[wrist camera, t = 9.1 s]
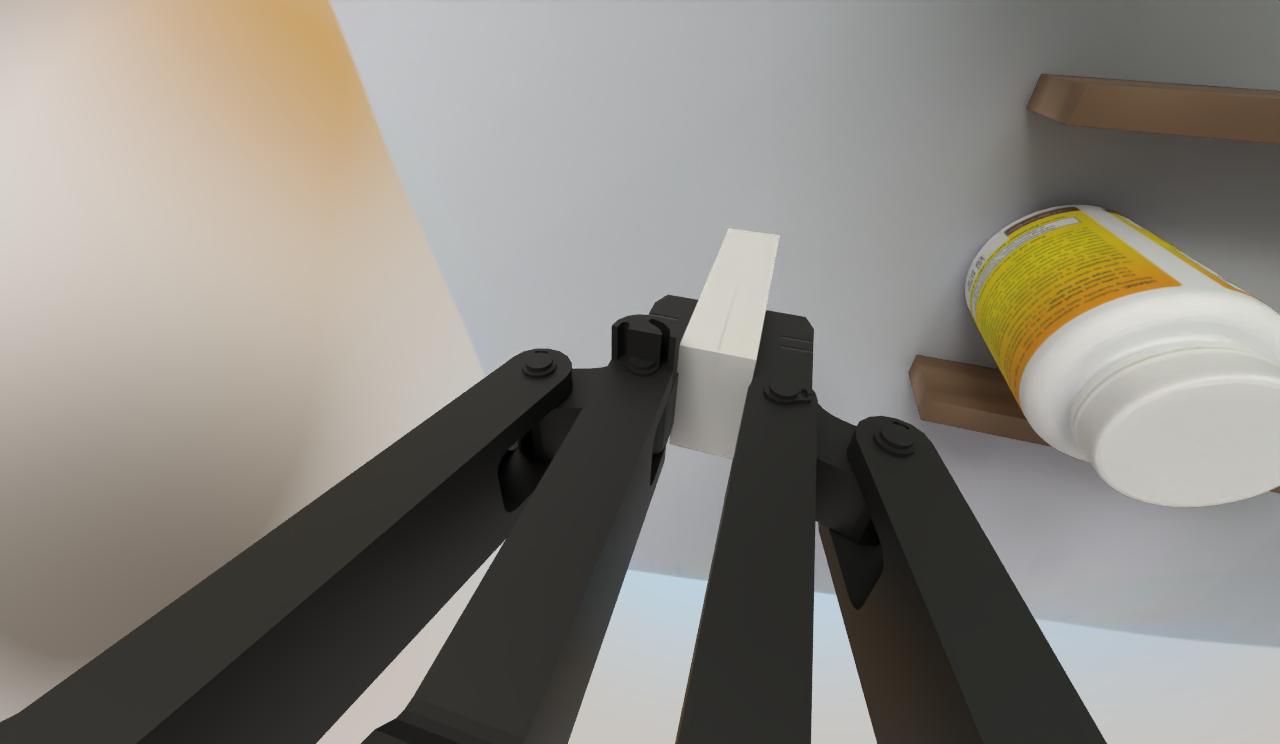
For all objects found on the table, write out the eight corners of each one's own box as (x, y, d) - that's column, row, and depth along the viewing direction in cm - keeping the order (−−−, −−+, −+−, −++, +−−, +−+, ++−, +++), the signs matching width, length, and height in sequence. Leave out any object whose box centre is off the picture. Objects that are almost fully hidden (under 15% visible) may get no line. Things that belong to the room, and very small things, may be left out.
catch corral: (1041, 73, 16) (1087, 84, 14) (1598, 114, 14) (1798, 137, 11) (908, 372, 23) (921, 419, 21) (1259, 438, 21) (1327, 502, 18)
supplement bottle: (937, 319, 22) (1007, 495, 14) (1003, 187, 18) (1147, 316, 10) (1081, 348, 21) (1250, 557, 13) (1178, 214, 17) (1492, 380, 9)
